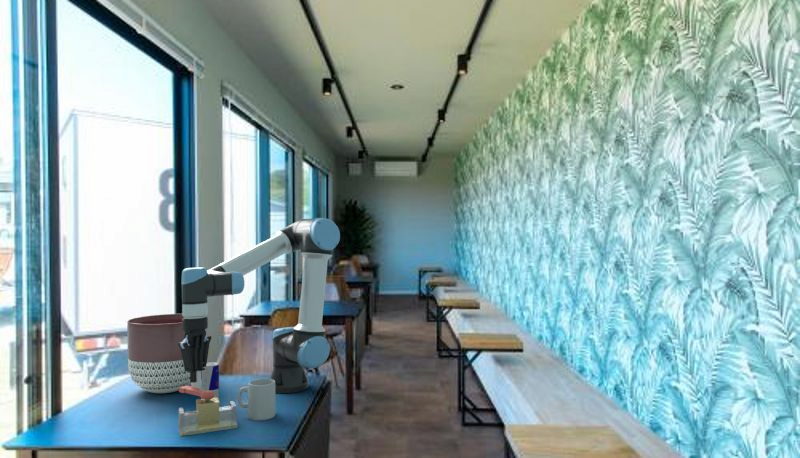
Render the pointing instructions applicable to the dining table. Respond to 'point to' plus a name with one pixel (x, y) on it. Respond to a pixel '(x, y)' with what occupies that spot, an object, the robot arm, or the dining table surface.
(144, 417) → the dining table surface
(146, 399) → the dining table surface
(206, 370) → the beverage can
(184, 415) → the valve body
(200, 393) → the lever
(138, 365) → the planter
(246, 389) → the mug
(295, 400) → the dining table surface
